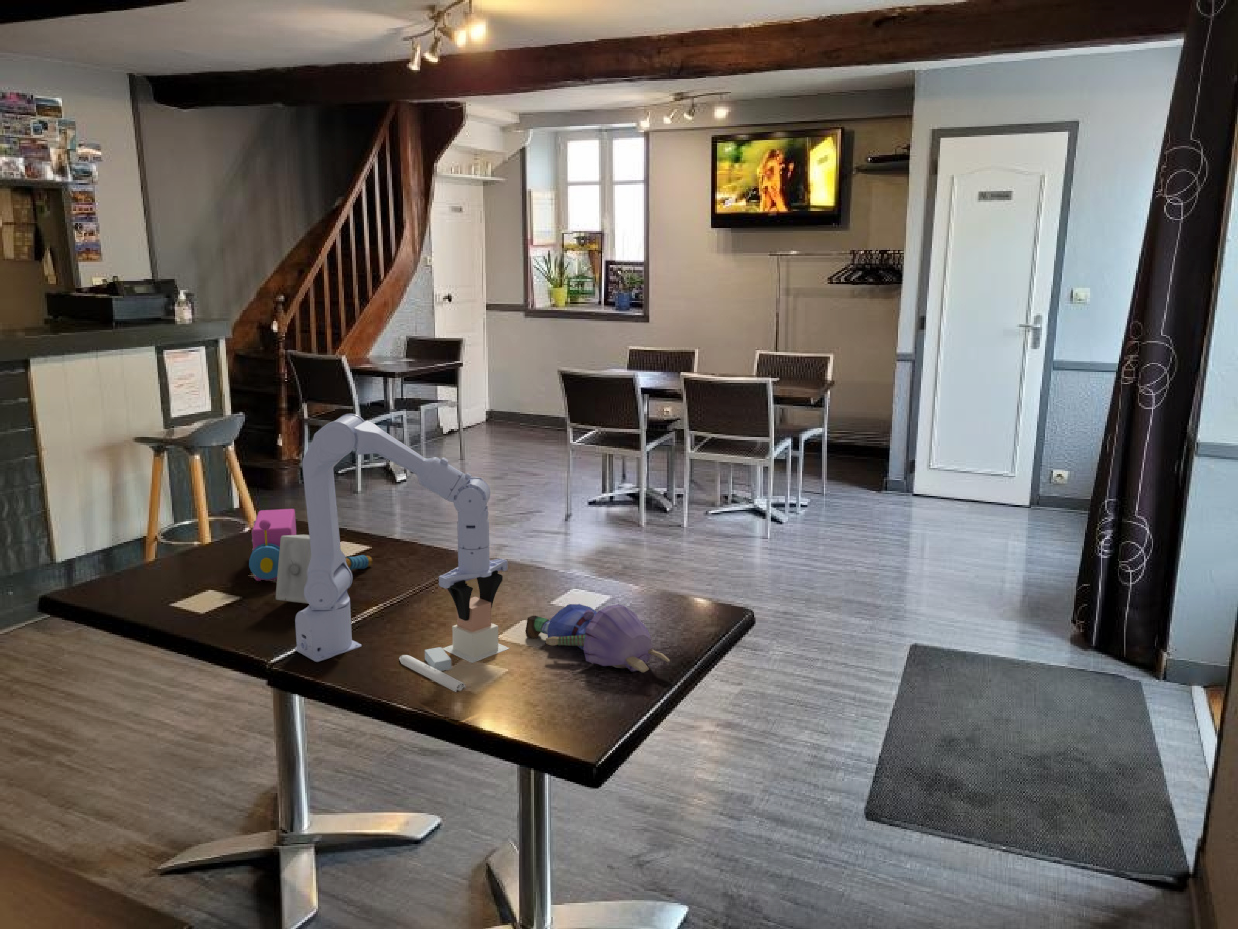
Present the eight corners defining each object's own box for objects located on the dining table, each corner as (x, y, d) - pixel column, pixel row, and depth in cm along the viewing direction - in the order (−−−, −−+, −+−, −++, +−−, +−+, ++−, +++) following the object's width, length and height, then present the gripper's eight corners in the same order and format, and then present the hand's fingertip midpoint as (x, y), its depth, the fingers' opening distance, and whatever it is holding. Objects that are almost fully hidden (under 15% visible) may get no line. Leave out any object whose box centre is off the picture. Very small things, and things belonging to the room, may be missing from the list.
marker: (395, 664, 165) (394, 652, 165) (404, 661, 167) (404, 649, 166) (456, 696, 153) (455, 683, 153) (466, 692, 155) (465, 679, 154)
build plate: (471, 665, 165) (471, 662, 165) (441, 650, 171) (441, 648, 171) (509, 650, 171) (509, 648, 171) (479, 637, 177) (479, 635, 177)
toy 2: (514, 651, 175) (621, 696, 153) (512, 597, 173) (619, 634, 151) (585, 627, 187) (693, 666, 165) (583, 577, 185) (692, 609, 163)
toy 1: (260, 552, 227) (256, 493, 224) (298, 549, 230) (295, 491, 226) (249, 589, 201) (245, 524, 198) (293, 586, 204) (288, 521, 200)
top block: (472, 632, 167) (471, 608, 166) (457, 625, 170) (456, 602, 169) (491, 625, 170) (491, 602, 169) (476, 619, 173) (475, 596, 172)
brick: (451, 672, 162) (451, 659, 162) (435, 675, 161) (434, 662, 160) (441, 659, 168) (440, 647, 167) (425, 662, 166) (424, 649, 166)
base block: (473, 658, 167) (472, 634, 166) (452, 648, 171) (452, 626, 170) (498, 648, 171) (498, 625, 170) (477, 639, 175) (477, 617, 174)
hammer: (349, 587, 218) (272, 600, 189) (354, 531, 219) (278, 535, 190) (380, 591, 216) (307, 604, 187) (385, 534, 217) (313, 539, 188)
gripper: (455, 558, 159) (457, 632, 162) (518, 541, 169) (518, 610, 172) (430, 550, 163) (433, 621, 166) (493, 533, 174) (494, 601, 177)
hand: (475, 615), depth 170 cm, fingers open, 5 cm apart
